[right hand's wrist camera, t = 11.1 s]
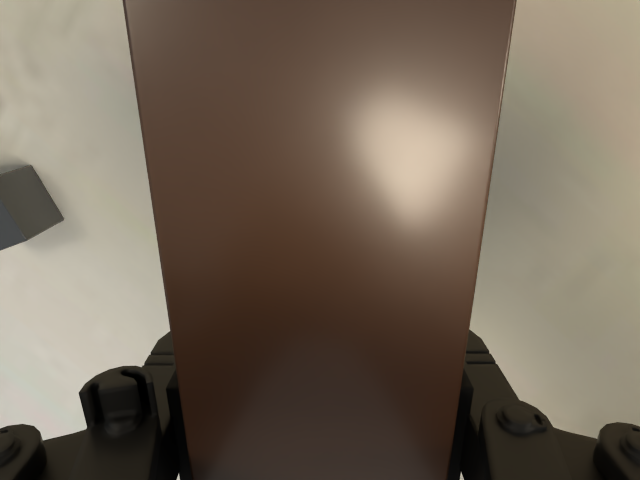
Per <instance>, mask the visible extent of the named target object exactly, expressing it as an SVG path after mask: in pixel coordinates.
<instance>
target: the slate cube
mask: <svg viewBox="0 0 640 480" xmlns="http://www.w3.org/2000/svg"><path fill="white" fill-rule="evenodd" d="M63 220H64V218H63V217H62V215H61V213H60V212H59V210H58V208H57V207H56V205H55V203H54V202H53V200H52V198H51V197H50V195H49V194H48V192H47V190H46V189H45V187H44V185H43V184H42V182H41V180H40V179H39V177H38V176H37V174H36V172H35V171H34V169H33V167H32V166H31V165H29V166H26V167H23V168H20V169H16V170H13V171H10V172H7V173H3V174H0V250H3V249H6V248H8V247H11V246H14V245H17V244H19V243H22V242H25V241H27V240H29V239H31V238H33V237H34V236H36V235H38V234H40V233H41V232H43V231H45V230H47V229H49V228H50V227H52V226H54V225H56V224H58V223H59V222H61V221H63Z"/></svg>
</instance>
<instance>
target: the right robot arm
mask: <svg viewBox="0 0 640 480" xmlns="http://www.w3.org/2000/svg"><path fill="white" fill-rule="evenodd" d="M79 396H80V400H81V404H82V408H83V412H84V416H85V420H86V424H87V429H86V430H83V431H80V432H76V433H73V434H69V435H65V436H60V437H56V438H52V439H48V440H44V441H43V440H42V437H41V434H40V431H39V430H37V429H36V428H35V427H34V426H30V425H25V424H19V425H11V426H6V427H3V428H1V429H0V480H176V479H177V476H178V474H179V475H180V480H192V476H191V469H190V462H189V455H188V448H187V442H186V435H185V428H184V421H183V414H182V407H181V400H180V393H179V386H178V379H177V372H176V366H175V359H174V352H173V345H172V338H171V331H170V332H168V333H167V334H166V335H165V336H163V337H162V338H161V339H159V340H158V342H157V343H156V345H155V347H154V348H153V350H152V352H151V355H149V356H148V358H147V360H146V361H145V364H144V366H142V367H138V366H122V367H118V368H113V369H109V370H107V371H105V372H103V373H101V374H98V375H96V376H95V377H94V378H92V379H91V380H90V381H88V382H87V383H86V384H85V385H84V386H83V388H82V389H81V390H80V392H79ZM461 472H462V475H463V478H464V480H640V427H639V426H636V425H633V424H627V423H620V422H616V423H611V424H606V425H605V426H604V427H603V428H602V429H601V430H600V432H599V436H598V439H595V438H591V437H587V436H583V435H578V434H574V433H570V432H566V431H563V430H559V429H556V428H554V427H553V426H552V424H551V423H550V421H549V420H548V418H547V417H546V416H545V415H544V414H543V413H542V412H541V411H539V410H538V409H537V408H535V407H534V406H532V405H530V404H528V403H526V402H524V401H520V400H519V399H518V397H517V396H516V394H515V392H514V391H513V389H512V387H511V386H510V384H509V383H508V381H507V379H506V378H505V376H504V375H503V373H502V371H501V370H500V368H499V366H498V365H497V364H496V363H495V360H494V358H493V357H492V355H491V354H489V350H488V349H487V347H486V345H485V344H484V342H483V341H482V339H481V338H480V337H478V336H477V335H476V334H475V333H473V332H472V331H471V330H469V333H468V340H467V347H466V354H465V361H464V368H463V375H462V382H461V389H460V396H459V403H458V410H457V417H456V423H455V430H454V437H453V444H452V451H451V458H450V465H449V472H448V479H447V480H460V474H461Z"/></svg>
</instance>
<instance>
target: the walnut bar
mask: <svg viewBox="0 0 640 480" xmlns="http://www.w3.org/2000/svg"><path fill="white" fill-rule="evenodd" d="M123 6H124V13H125V20H126V27H127V34H128V41H129V48H130V55H131V62H132V69H133V75H134V82H135V89H136V96H137V103H138V110H139V117H140V124H141V131H142V138H143V145H144V151H145V158H146V165H147V172H148V179H149V186H150V193H151V200H152V207H153V214H154V221H155V227H156V234H157V241H158V248H159V255H160V262H161V269H162V276H163V283H164V290H165V296H166V303H167V310H168V317H169V324H170V331H171V338H172V345H173V352H174V359H175V366H176V372H177V379H178V386H179V393H180V400H181V407H182V414H183V421H184V428H185V435H186V442H187V448H188V455H189V462H190V469H191V476H192V480H447V479H448V472H449V465H450V458H451V451H452V444H453V437H454V430H455V423H456V417H457V410H458V403H459V396H460V389H461V382H462V375H463V368H464V361H465V354H466V347H467V340H468V333H469V326H470V319H471V313H472V306H473V299H474V292H475V285H476V278H477V271H478V264H479V257H480V250H481V243H482V236H483V229H484V222H485V215H486V209H487V202H488V195H489V188H490V181H491V174H492V167H493V160H494V153H495V146H496V139H497V132H498V125H499V118H500V111H501V104H502V98H503V91H504V84H505V77H506V70H507V63H508V56H509V49H510V42H511V35H512V28H513V21H514V14H515V7H516V0H123Z"/></svg>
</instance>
